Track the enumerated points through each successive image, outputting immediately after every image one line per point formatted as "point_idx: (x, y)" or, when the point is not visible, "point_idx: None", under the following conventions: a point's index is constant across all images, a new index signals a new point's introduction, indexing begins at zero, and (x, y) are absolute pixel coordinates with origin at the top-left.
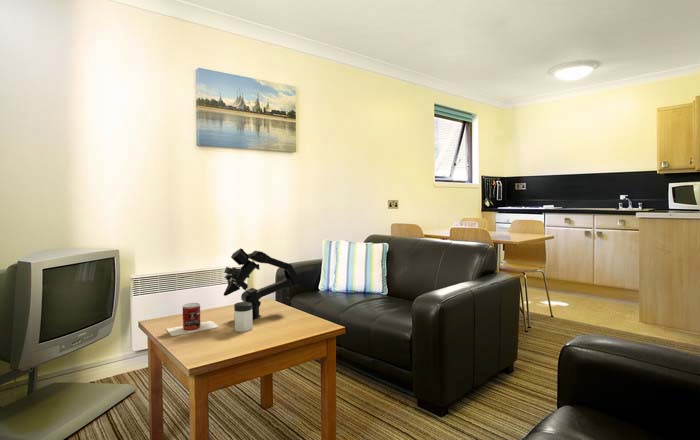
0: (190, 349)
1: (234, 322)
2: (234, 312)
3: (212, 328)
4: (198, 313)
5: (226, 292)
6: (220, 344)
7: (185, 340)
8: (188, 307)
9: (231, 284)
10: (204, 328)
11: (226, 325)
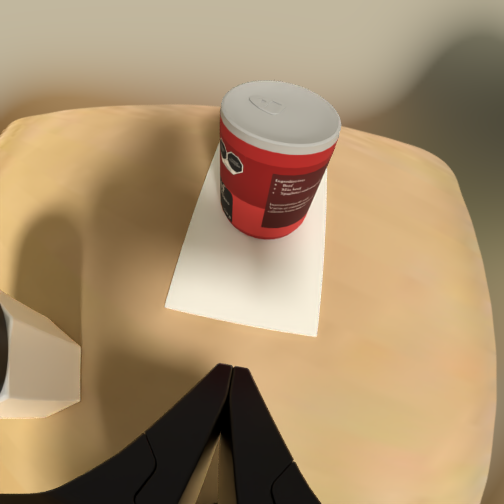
0: (69, 134)
1: (61, 337)
2: (12, 309)
3: (175, 270)
4: (225, 163)
5: (186, 398)
6: (16, 202)
7: (142, 143)
8: (237, 86)
9: (4, 496)
10: (204, 239)
11: (165, 356)
